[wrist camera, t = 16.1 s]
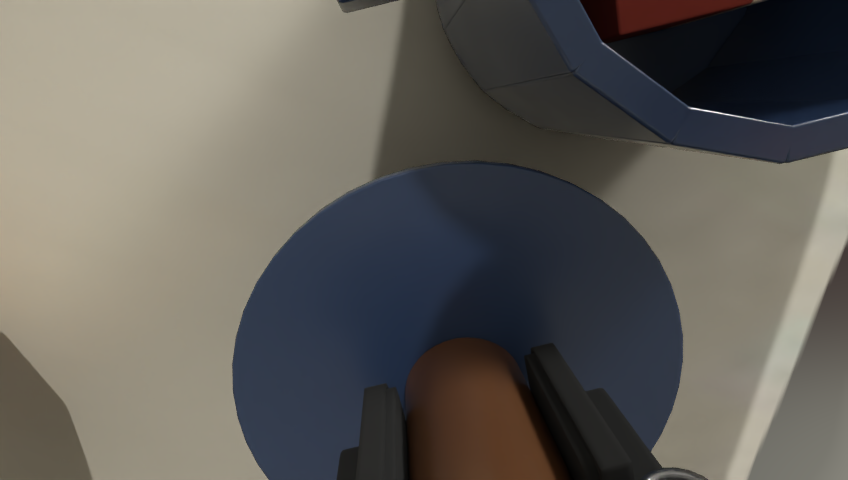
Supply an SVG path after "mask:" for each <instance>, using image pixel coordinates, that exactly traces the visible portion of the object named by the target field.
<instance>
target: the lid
mask: <svg viewBox="0 0 848 480" xmlns="http://www.w3.org/2000/svg"><path fill="white" fill-rule="evenodd" d="M548 343H553V344H554V345H555V346H556V348H557V349H558V351H559V352H560V354H561V355H562V357H563V358H564V360H565V361H566V363H567V364H568V366H569V367H570V369H571V370H572V372H573V373H574V375H575V376H576V378H577V379H578V381H579V383H580V384H581V386H582V387H583V389H584V390H585V391H589V390H593V389H597V388H603V389H604V390H605V391H606V392H607V393H608V395H609V396H610V397H611V399H612V400H613V401H614V403H615V404H616V405H617V407H618V408H619V410H620V411H621V412H622V414H623V415H624V416H625V418H626V419H627V420H628V422H629V423H630V425H631V426H632V427H633V429H634V430H635V431H636V433H637V434H638V435H639V437H640V438H641V440H642V441H643V442H644V444H645V445H646V446H647V448H648V449H649V450H650V452H651V450H652V449H653V447H654V445H655V444H656V442H657V440H658V439H659V437H660V435H661V434H662V432H663V429H664V427H665V425H666V423H667V420H668V418H669V416H670V414H671V411H672V408H673V405H674V402H675V398H676V395H677V391H678V388H679V383H680V376H681V369H682V363H683V334H682V327H681V320H680V314H679V309H678V305H677V302H676V299H675V296H674V292H673V289H672V286H671V283H670V281H669V279H668V277H667V275H666V273H665V271H664V269H663V267H662V265H661V263H660V261H659V259H658V258H657V256H656V255H655V254H654V252H653V251H652V249H651V248H650V246H649V245H648V244H647V242H646V241H645V239H644V238H643V237H642V236H641V235H640V234H639V233H638V231H637V230H636V229H635V228H634V227H633V226H632V225H631V224H630V223H629V222H628V221H627V220H626V219H625V218H624V217H623V216H622V215H620V214H619V213H618V212H617V211H615V210H614V209H613V208H611V207H610V206H609V205H607V204H606V203H605V202H604V201H602V200H601V199H599V198H598V197H596V196H594V195H592V194H590V193H589V192H587V191H585V190H583V189H581V188H580V187H578V186H576V185H574V184H572V183H570V182H568V181H565V180H563V179H560V178H558V177H555V176H552V175H550V174H547V173H544V172H542V171H539V170H535V169H530V168H526V167H522V166H517V165H513V164H509V163H498V162H487V161H452V162H440V163H434V164H428V165H423V166H417V167H411V168H408V169H404V170H401V171H398V172H395V173H392V174H389V175H385V176H382V177H379V178H377V179H375V180H372V181H370V182H368V183H366V184H364V185H362V186H360V187H358V188H355V189H353V190H351V191H349V192H347V193H346V194H344V195H343V196H341V197H340V198H338V199H336V200H335V201H333V202H332V203H330V204H329V205H327V206H325V207H324V208H322V209H321V210H320V211H319V212H317V213H316V214H315V215H314V216H313V217H312V218H310V219H309V220H308V221H307V222H306V223H305V224H303V225H302V226H301V227H300V228H299V229H297V230H296V232H295V233H294V234H293V235H292V236H291V237H290V238H289V240H288V241H287V242H286V243H285V244H284V245H283V246H282V247H281V249H280V250H279V251H278V252H277V253H276V254H275V256H274V257H273V259H272V260H271V262H270V263H269V265H268V266H267V268H266V269H265V271H264V272H263V274H262V275H261V277H260V278H259V280H258V281H257V283H256V285H255V287H254V289H253V291H252V294H251V296H250V298H249V300H248V302H247V304H246V306H245V309H244V311H243V315H242V318H241V322H240V325H239V329H238V332H237V335H236V341H235V348H234V356H233V364H232V368H233V394H234V399H235V405H236V410H237V416H238V420H239V423H240V425H241V428H242V431H243V434H244V437H245V440H246V443H247V445H248V446H249V448H250V450H251V452H252V454H253V456H254V458H255V460H256V462H257V464H258V465H259V467H260V468H261V470H262V471H263V472H264V474H265V475H266V476H267V478H268V479H269V480H336V479H337V473H338V466H339V459H340V454H341V452H342V450H345V449H349V448H353V447H357V446H359V438H360V428H361V417H362V407H363V396H364V389H365V388H367V387H371V386H376V385H380V384H384V383H387V385H388V388H392V387H396V389H397V391H398V395H399V398H400V402H401V405H402V408H403V412H404V415H405V418H406V424H407V446H408V469H409V480H573V479H572V477H571V475H570V473H569V471H568V469H567V466H566V464H565V462H564V460H563V458H562V456H561V454H560V452H559V450H558V448H557V445H556V443H555V441H554V439H553V437H552V435H551V433H550V431H549V429H548V427H547V424H546V422H545V420H544V418H543V416H542V414H541V412H540V410H539V408H538V406H537V404H536V401H535V399H534V397H533V395H532V393H531V391H530V386H529V380H528V375H527V370H526V365H525V359H524V356H525V355H528V354H531V348H532V347H536V346H540V345H544V344H548Z"/></svg>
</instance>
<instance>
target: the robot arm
mask: <svg viewBox="0 0 848 480" xmlns="http://www.w3.org/2000/svg"><path fill="white" fill-rule="evenodd" d="M524 359H525V365H526V370H527V375H528V380H529V386H530V391H531V393H532V395H533V397H534V399H535V401H536V404H537V406H538V408H539V410H540V412H541V414H542V416H543V418H544V420H545V422H546V424H547V427H548V429H549V431H550V433H551V435H552V437H553V439H554V441H555V443H556V445H557V448H558V450H559V452H560V454H561V456H562V458H563V460H564V462H565V464H566V466H567V469H568V471H569V473H570V475H571V477H572V479H573V480H708V479H707V478H705V477H704V476H702V475H699V474H697V473H695V472H692V471H690V470H685V469H680V468H662V467H661V465H660V464H659V463H658V461H657V460H656V459H655V457H654V456H653V454H652V453H651V452H650V450H649V449H648V448H647V446H646V445H645V444H644V442H643V441H642V440H641V438H640V437H639V435H638V434H637V433H636V431H635V430H634V429H633V427H632V426H631V425H630V423H629V422H628V420H627V419H626V418H625V416H624V415H623V414H622V412H621V411H620V410H619V408H618V407H617V405H616V404H615V403H614V401H613V400H612V399H611V397H610V396H609V395H608V393H607V392H606V391H605V390H604V389H603V388H597V389H593V390H589V391H585V390H584V389H583V387H582V386H581V384H580V383H579V381H578V379H577V378H576V376H575V375H574V373H573V372H572V370H571V369H570V367H569V366H568V364H567V363H566V361H565V360H564V358H563V357H562V355H561V354H560V352H559V351H558V349H557V348H556V346H555V345H554V344H553V343H548V344H544V345H540V346H536V347H532V348H531V354H528V355H525V356H524ZM336 480H409V469H408V446H407V424H406V418H405V415H404V412H403V408H402V405H401V402H400V398H399V395H398V391H397V389H396V387H392V388H388V385H387V383H384V384H380V385H376V386H371V387H367V388H365V389H364V396H363V407H362V417H361V428H360V438H359V446H357V447H353V448H349V449H345V450H342V452H341V454H340V459H339V466H338V473H337V479H336Z"/></svg>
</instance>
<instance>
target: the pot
mask: <svg viewBox="0 0 848 480" xmlns="http://www.w3.org/2000/svg"><path fill="white" fill-rule="evenodd" d="M394 1H398V0H337V2H338V4H339V6H340V8H341V9H342V11H343V12H345V13H349V12H353V11H357V10H361V9H365V8H369V7H373V6H377V5H381V4H385V3H389V2H394ZM435 1H436V4H437V8H438V12H439V16H440V19H441V22H442V26H443V29H444V31H445V34H446V35H447V37H448V39H449V42H450V44H451V46H452V47H453V49H454V51H455V53H456V55H457V56H458V58H459V60H460V62H461V63H462V65H463V66H464V67H465V69H466V70H467V71H468V73H469V74H470V75H471V77H472V78H473V79H474V81H475V82H476V83H477V84H478V85H479V86H480V88H481V89H482V90H483V91H484V92H485V93H486V94H488V95H489V96H490V97H491V98H492V99H494V100H495V101H496V102H497V103H499V104H500V105H501V106H503V107H504V108H505V109H506V110H508V111H510V112H512V113H513V114H515V115H517V116H519V117H520V118H522V119H524V120H526V121H528V122H529V123H531V124H532V125H534V126H536V127H538V128H542V129H548V130H554V131H560V132H566V133H572V134H578V135H584V136H590V137H595V138H602V139H609V140H616V141H623V142H630V143H637V144H644V145H651V146H658V147H665V148H672V149H679V150H686V151H693V152H700V153H707V154H714V155H721V156H728V157H735V158H742V159H749V160H756V161H763V162H770V163H777V164H782V163H790V162H794V161H798V160H802V159H806V158H810V157H814V156H818V155H822V154H826V153H830V152H834V151H838V150H842V149H847V148H848V0H767V1H764V2H760V3H757V4H753V5H750V6H746V7H743V8H739V9H736V10H732V11H729V12H725V13H722V14H718V15H715V16H711V17H708V18H704V19H701V20H697V21H694V22H690V23H687V24H683V25H680V26H676V27H672V28H667V29H663V30H659V31H655V32H651V33H647V34H643V35H639V36H635V37H631V38H627V39H623V40H618V41H614V42H610V43H606V44H605V43H604V42H602V40H601V39H600V37H599V35H598V33H597V31H596V29H595V28H594V26H593V24H592V22H591V20H590V18H589V17H588V15H587V13H586V11H585V9H584V7H583V6H582V4H581V2H580V0H435Z"/></svg>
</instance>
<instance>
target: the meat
mask: <svg viewBox="0 0 848 480" xmlns="http://www.w3.org/2000/svg"><path fill="white" fill-rule="evenodd" d="M764 1H767V0H580V2H581V4H582V6H583V7H584V9H585V11H586V13H587V15H588V17H589V18H590V20H591V22H592V24H593V26H594V28H595V29H596V31H597V33H598V35H599V37H600V39H601V40H602V42H604V43H605V44H606V43H610V42H614V41H618V40H623V39H627V38H631V37H635V36H639V35H643V34H647V33H651V32H655V31H659V30H663V29H667V28H672V27H676V26H680V25H683V24H687V23H690V22H694V21H697V20H701V19H704V18H708V17H711V16H715V15H718V14H722V13H725V12H729V11H732V10H736V9H739V8H743V7H746V6H750V5H753V4H757V3H760V2H764Z"/></svg>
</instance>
